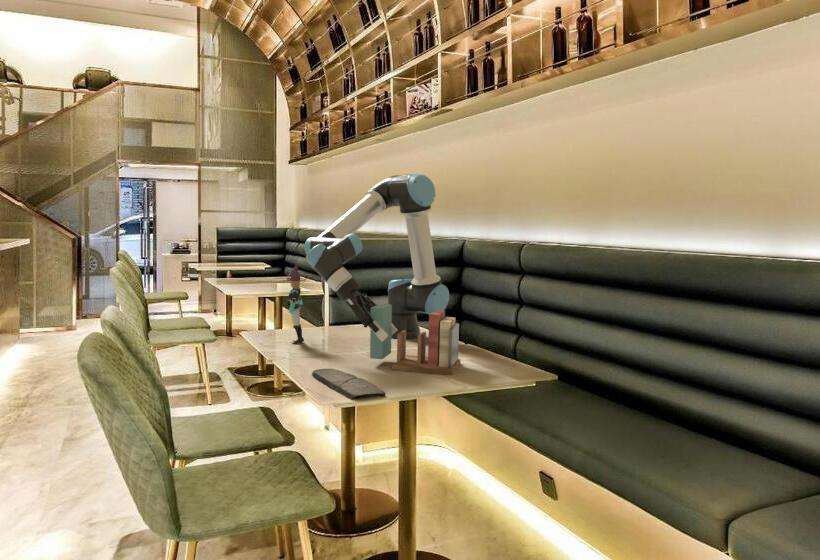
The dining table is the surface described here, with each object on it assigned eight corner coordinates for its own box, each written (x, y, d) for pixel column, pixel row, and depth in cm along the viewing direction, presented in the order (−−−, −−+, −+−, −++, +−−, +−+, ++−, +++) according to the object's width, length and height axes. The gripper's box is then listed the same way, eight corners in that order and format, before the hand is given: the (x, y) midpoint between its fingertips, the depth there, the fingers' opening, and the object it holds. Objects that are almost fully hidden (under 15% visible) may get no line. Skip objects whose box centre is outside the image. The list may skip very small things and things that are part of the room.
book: (379, 352, 202) (380, 304, 201) (391, 352, 201) (391, 304, 200) (370, 358, 193) (370, 307, 191) (382, 359, 192) (383, 308, 190)
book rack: (405, 359, 204) (406, 307, 202) (460, 363, 199) (462, 310, 198) (392, 370, 188) (393, 313, 187) (451, 374, 184) (453, 317, 182)
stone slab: (340, 365, 184) (388, 385, 158) (340, 376, 184) (388, 397, 159) (308, 369, 179) (352, 390, 153) (308, 380, 179) (352, 403, 153)
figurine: (286, 338, 238) (286, 260, 235) (309, 338, 238) (310, 261, 235) (276, 348, 218) (277, 263, 215) (302, 348, 218) (303, 264, 215)
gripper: (348, 289, 210) (391, 337, 207) (323, 296, 188) (371, 350, 186) (363, 274, 208) (407, 322, 206) (339, 279, 186) (388, 334, 184)
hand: (390, 335), depth 196 cm, fingers closed on book, 10 cm apart
